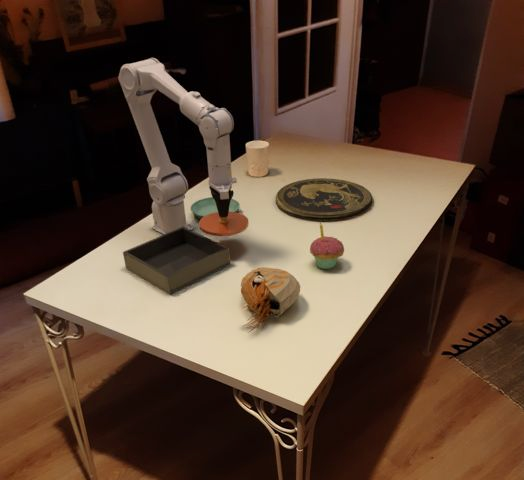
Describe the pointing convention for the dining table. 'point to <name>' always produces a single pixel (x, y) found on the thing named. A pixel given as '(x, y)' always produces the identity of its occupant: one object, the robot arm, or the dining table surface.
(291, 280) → the nautilus shell
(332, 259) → the cupcake
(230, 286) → the dining table surface
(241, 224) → the orange round pegged disc
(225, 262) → the tray
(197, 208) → the saucer
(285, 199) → the decorative plate
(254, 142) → the white cup
